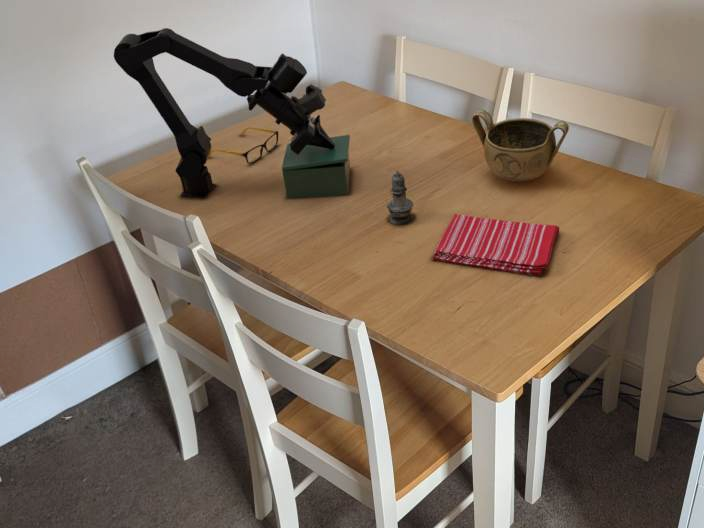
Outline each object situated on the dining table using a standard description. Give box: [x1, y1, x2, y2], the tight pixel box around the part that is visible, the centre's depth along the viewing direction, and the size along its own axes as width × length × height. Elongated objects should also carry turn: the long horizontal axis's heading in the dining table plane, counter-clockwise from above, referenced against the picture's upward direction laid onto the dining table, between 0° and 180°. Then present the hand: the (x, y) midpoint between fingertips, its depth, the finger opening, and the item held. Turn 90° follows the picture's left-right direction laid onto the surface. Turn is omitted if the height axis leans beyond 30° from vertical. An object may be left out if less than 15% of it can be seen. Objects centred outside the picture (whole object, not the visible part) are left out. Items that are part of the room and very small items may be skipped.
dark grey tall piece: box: [386, 170, 414, 226], centre depth 175 cm, size 6×6×12 cm
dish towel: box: [431, 213, 560, 277], centre depth 166 cm, size 17×24×3 cm
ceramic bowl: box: [471, 108, 570, 183], centre depth 186 cm, size 22×17×15 cm
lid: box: [281, 134, 351, 171], centre depth 190 cm, size 15×13×1 cm
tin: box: [281, 152, 351, 199], centre depth 192 cm, size 15×13×7 cm
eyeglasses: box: [208, 126, 279, 165], centre depth 211 cm, size 14×14×4 cm
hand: (333, 147), depth 189 cm, fingers closed, pressing on lid
